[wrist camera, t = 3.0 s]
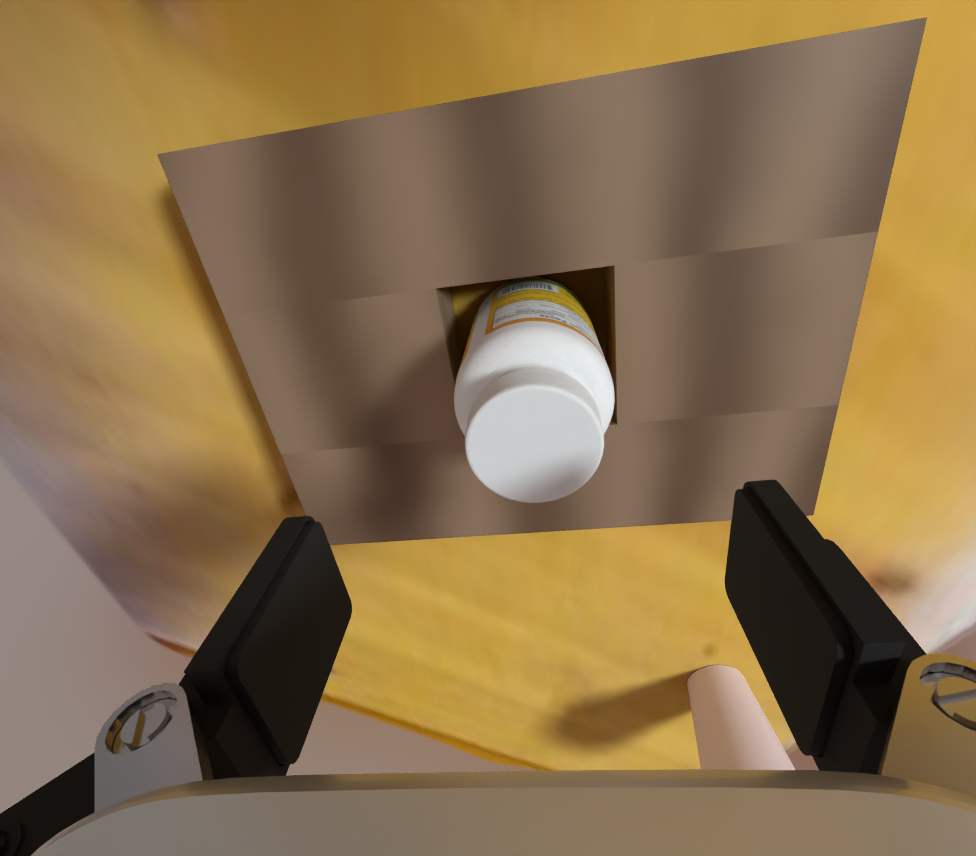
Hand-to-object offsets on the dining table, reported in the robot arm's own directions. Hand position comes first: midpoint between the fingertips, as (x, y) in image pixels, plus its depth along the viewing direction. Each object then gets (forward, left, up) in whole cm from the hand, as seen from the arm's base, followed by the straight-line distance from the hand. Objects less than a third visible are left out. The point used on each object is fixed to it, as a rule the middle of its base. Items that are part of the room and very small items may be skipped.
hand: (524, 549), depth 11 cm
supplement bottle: (0, 0, -13) cm, 13 cm away
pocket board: (0, 0, -13) cm, 13 cm away
